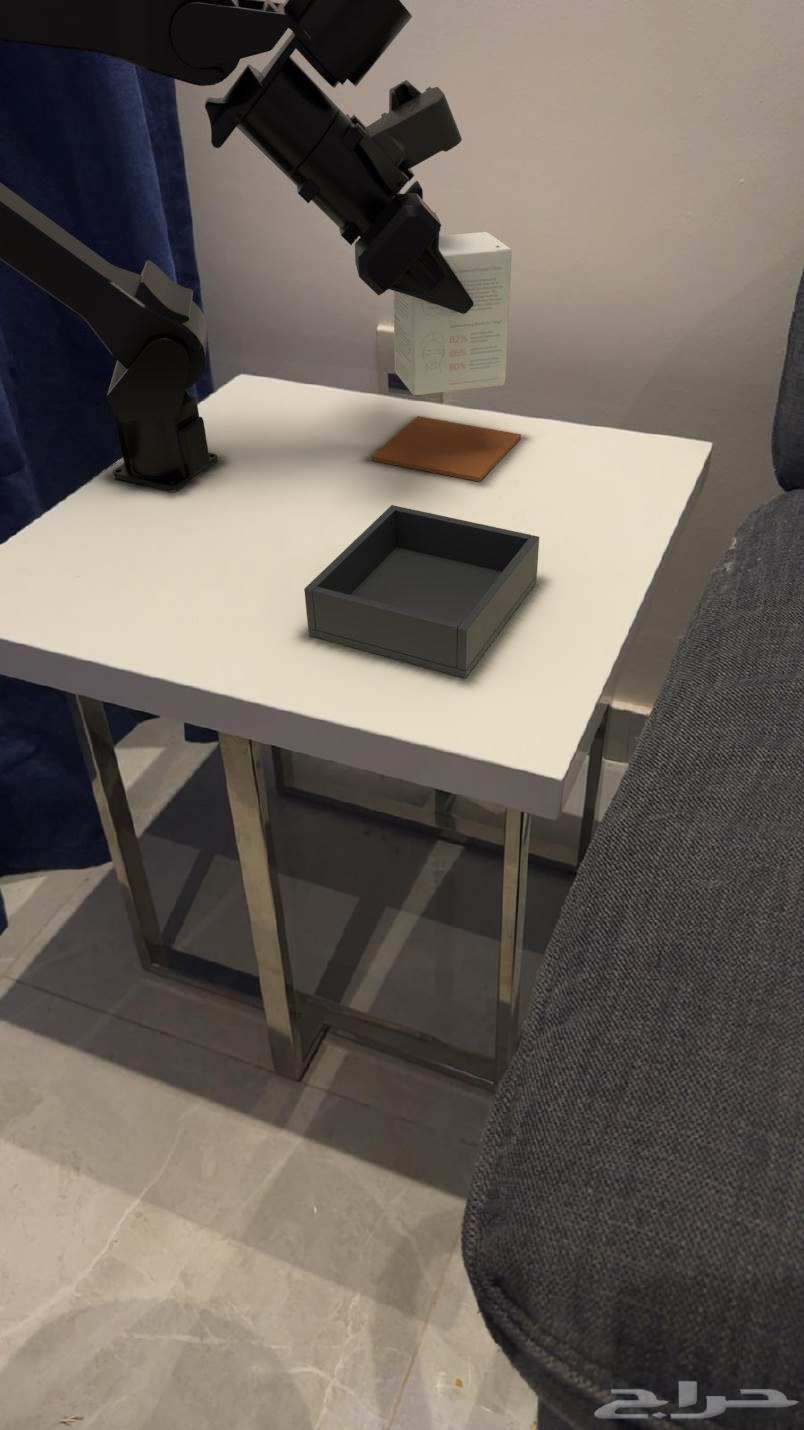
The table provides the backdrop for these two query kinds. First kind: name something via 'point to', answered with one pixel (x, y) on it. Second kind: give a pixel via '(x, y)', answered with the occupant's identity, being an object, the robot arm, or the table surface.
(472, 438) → the mat
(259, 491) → the table surface
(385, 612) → the bin
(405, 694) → the table surface
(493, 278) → the small box
